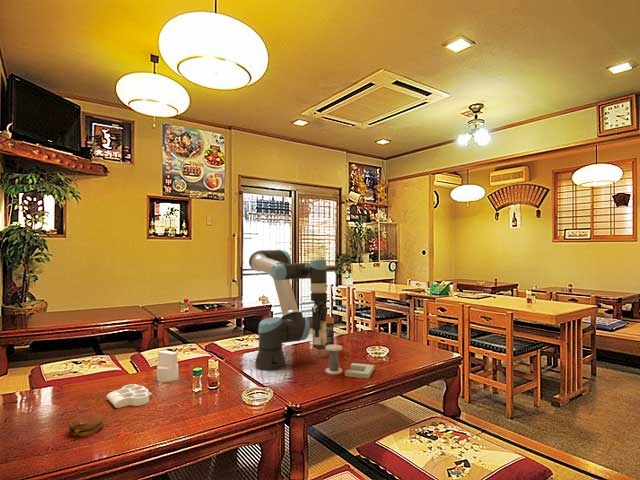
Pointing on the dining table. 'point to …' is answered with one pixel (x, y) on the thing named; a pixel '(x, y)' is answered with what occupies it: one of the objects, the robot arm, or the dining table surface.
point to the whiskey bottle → (321, 349)
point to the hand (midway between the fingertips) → (319, 342)
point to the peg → (323, 333)
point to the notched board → (360, 374)
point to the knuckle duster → (129, 396)
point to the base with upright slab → (167, 366)
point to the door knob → (334, 359)
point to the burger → (86, 424)
